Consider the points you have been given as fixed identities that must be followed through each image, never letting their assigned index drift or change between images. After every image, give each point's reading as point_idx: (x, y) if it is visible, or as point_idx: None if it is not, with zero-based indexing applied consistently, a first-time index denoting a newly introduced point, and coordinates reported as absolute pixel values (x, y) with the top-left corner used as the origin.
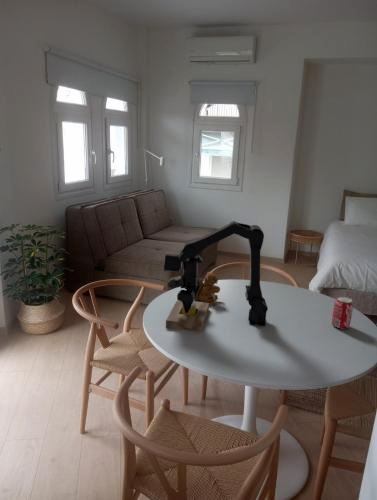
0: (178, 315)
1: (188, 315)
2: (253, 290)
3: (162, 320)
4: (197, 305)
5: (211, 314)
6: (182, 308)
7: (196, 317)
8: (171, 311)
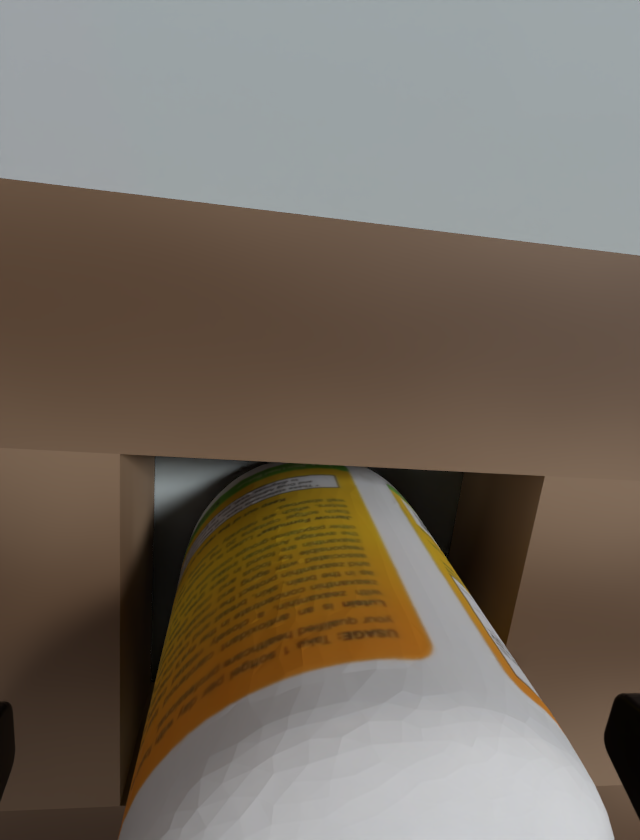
0: (19, 463)
1: (97, 682)
2: None
3: (68, 35)
4: None
5: None
6: (272, 571)
7: (51, 837)
8: (215, 228)
